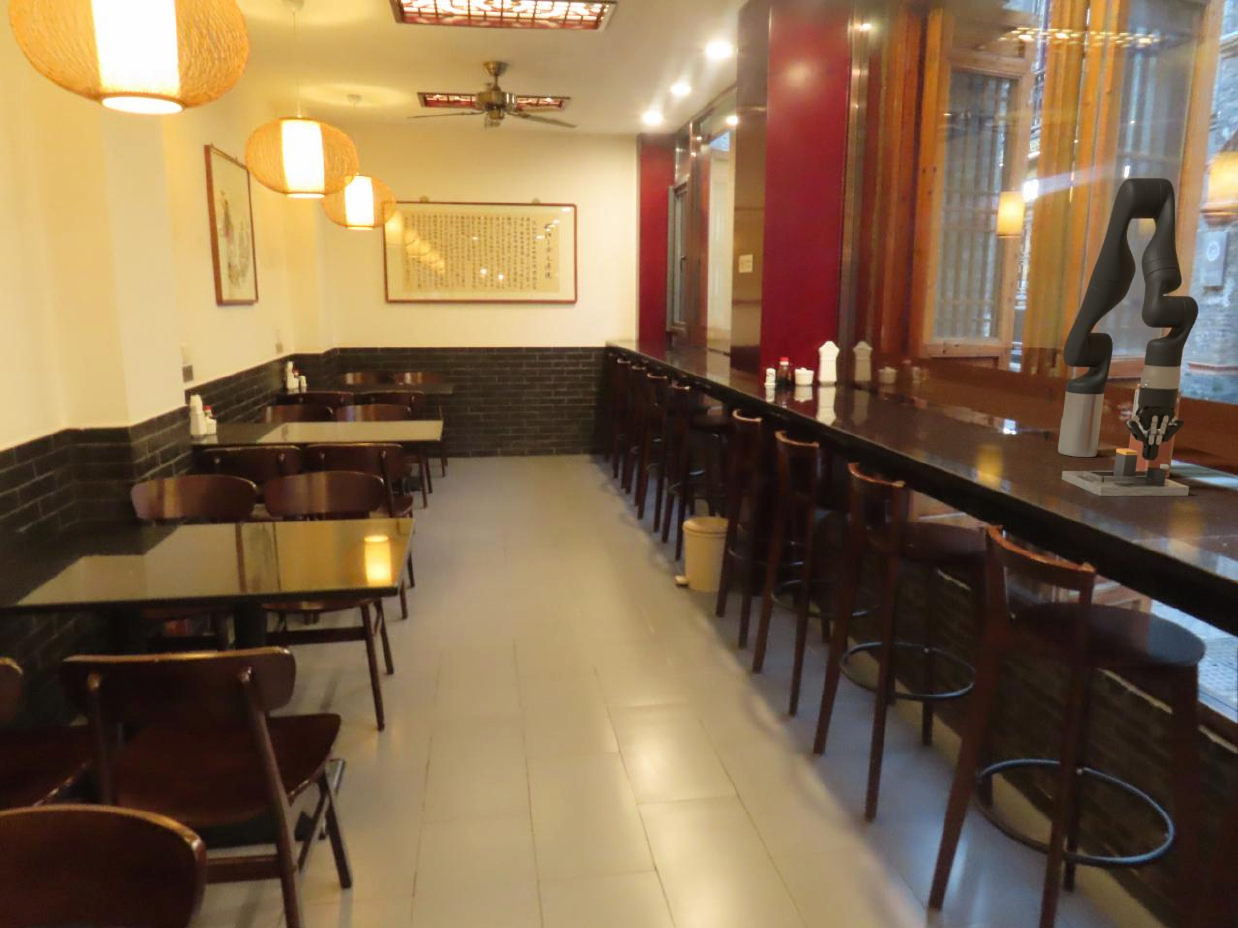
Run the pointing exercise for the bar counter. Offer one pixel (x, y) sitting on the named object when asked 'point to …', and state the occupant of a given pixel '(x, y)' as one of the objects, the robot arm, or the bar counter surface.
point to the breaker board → (1126, 483)
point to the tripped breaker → (1125, 462)
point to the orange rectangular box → (1164, 448)
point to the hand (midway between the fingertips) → (1148, 459)
